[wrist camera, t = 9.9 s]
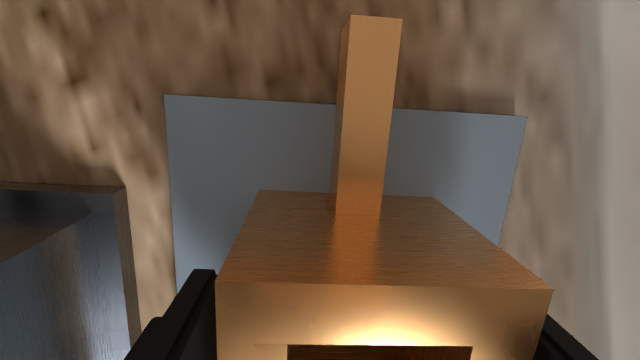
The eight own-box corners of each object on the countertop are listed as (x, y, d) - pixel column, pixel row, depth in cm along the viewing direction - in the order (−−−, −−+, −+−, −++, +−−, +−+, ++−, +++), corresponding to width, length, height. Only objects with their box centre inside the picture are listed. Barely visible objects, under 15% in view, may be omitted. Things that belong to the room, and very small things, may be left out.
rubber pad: (515, 115, 11) (527, 116, 10) (457, 382, 14) (464, 394, 14) (171, 94, 10) (164, 94, 10) (189, 381, 13) (183, 394, 13)
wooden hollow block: (459, 40, 10) (646, -29, 4) (410, 341, 13) (487, 517, 7) (261, 25, 9) (204, -70, 4) (257, 338, 12) (222, 523, 7)
